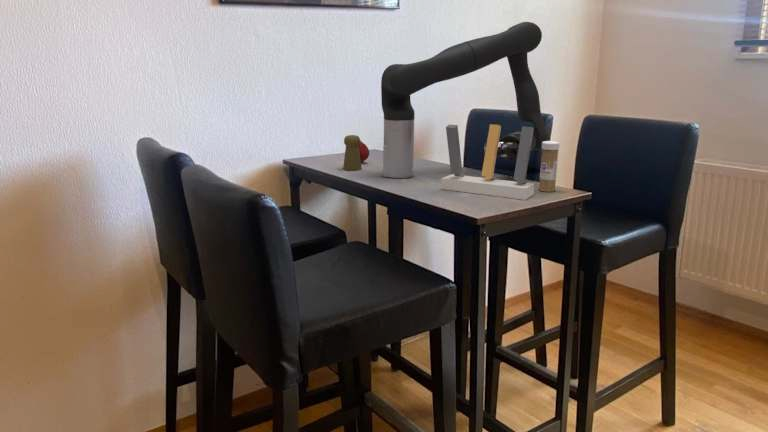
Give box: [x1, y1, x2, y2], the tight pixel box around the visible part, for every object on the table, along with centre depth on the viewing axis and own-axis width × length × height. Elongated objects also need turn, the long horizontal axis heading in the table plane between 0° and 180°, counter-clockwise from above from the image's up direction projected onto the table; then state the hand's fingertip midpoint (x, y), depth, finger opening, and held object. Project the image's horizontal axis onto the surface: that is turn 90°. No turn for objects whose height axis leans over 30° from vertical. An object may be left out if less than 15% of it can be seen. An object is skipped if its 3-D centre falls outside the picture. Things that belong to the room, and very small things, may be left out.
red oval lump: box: [359, 139, 370, 164], centre depth 203 cm, size 6×6×8 cm
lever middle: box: [481, 123, 502, 180], centre depth 161 cm, size 3×2×15 cm
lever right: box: [513, 125, 535, 184], centre depth 157 cm, size 3×2×15 cm
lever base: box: [440, 174, 535, 201], centre depth 162 cm, size 24×7×3 cm, turn 58°
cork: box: [342, 134, 363, 172], centre depth 192 cm, size 6×6×11 cm
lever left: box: [445, 124, 463, 177], centre depth 163 cm, size 3×2×15 cm
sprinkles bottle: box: [538, 140, 560, 193], centre depth 163 cm, size 5×5×13 cm
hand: (493, 153), depth 163 cm, fingers closed
